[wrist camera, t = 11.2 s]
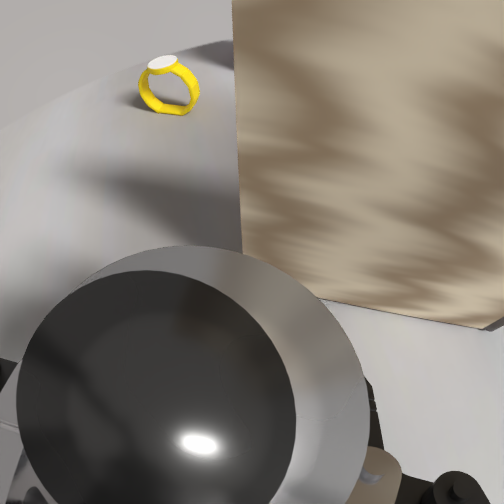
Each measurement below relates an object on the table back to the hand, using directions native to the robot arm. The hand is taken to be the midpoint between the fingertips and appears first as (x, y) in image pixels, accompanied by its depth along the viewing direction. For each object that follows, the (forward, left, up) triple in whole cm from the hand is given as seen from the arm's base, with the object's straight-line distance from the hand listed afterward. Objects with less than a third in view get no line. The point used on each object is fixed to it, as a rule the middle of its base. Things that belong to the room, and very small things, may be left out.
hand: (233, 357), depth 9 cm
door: (-2, +10, -9) cm, 14 cm away
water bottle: (+2, -1, -5) cm, 5 cm away
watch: (-26, 0, -9) cm, 27 cm away
